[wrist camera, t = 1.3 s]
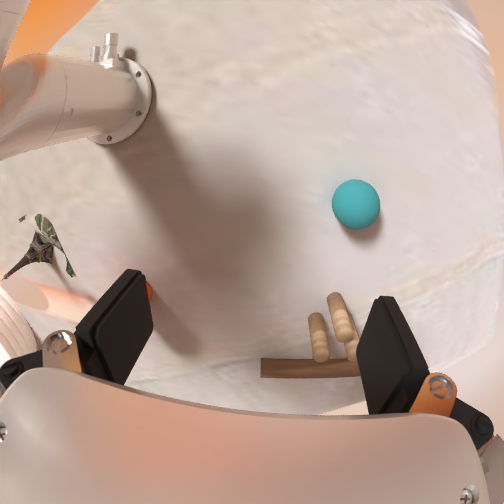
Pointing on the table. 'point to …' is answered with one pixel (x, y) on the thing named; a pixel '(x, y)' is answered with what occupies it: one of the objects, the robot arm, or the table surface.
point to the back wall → (308, 368)
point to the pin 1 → (318, 338)
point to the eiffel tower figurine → (41, 246)
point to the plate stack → (13, 331)
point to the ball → (356, 204)
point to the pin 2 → (352, 342)
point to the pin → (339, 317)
